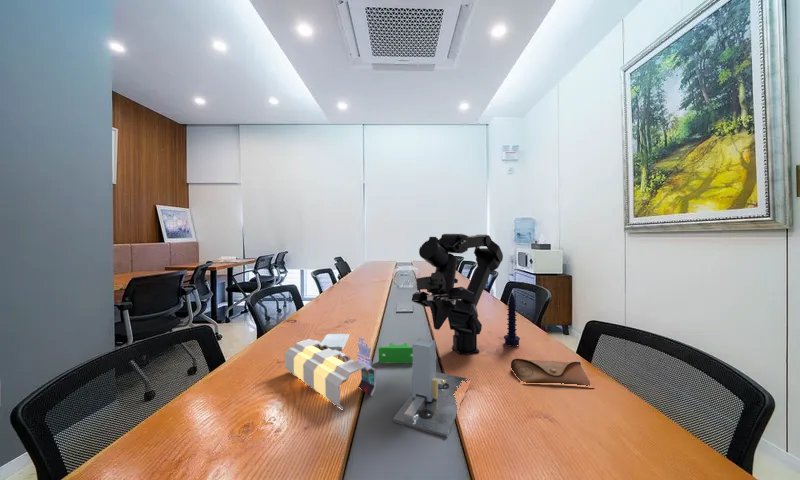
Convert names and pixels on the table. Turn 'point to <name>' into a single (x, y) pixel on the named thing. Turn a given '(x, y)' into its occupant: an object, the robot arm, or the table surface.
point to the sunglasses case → (549, 372)
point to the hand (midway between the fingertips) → (436, 329)
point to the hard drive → (335, 341)
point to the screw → (511, 323)
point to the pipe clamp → (396, 354)
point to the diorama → (329, 368)
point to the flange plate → (432, 408)
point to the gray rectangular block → (424, 369)
